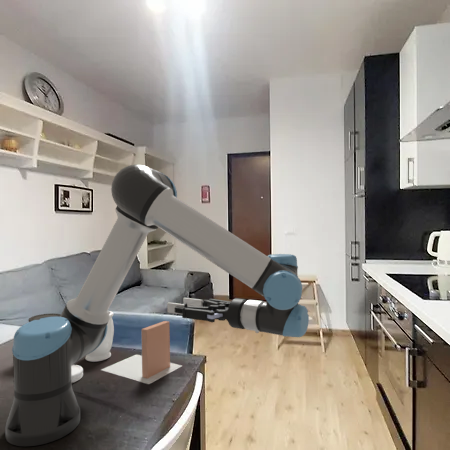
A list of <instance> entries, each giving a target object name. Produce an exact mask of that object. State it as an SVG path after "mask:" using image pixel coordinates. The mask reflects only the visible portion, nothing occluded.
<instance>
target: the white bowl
mask: <svg viewBox="0 0 450 450" xmlns="http://www.w3.org/2000/svg"><path fill="white" fill-rule="evenodd" d="M83 376H84V368H83V367H82V366H81V365H78V364H73V365H72V366H71V377H72V378H71V380H72V384H73V383H77V382H78V381H79V380H81V379H82V378H83Z"/></svg>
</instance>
